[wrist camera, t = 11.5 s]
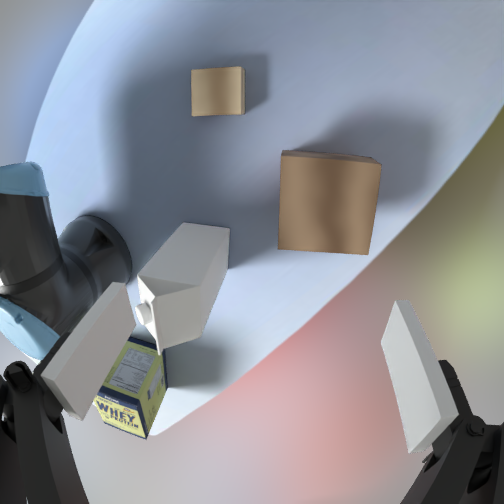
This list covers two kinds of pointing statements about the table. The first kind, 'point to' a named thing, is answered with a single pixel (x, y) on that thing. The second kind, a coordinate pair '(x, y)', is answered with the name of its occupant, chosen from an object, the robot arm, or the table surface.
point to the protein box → (133, 388)
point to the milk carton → (183, 283)
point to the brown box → (327, 202)
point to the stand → (218, 91)
